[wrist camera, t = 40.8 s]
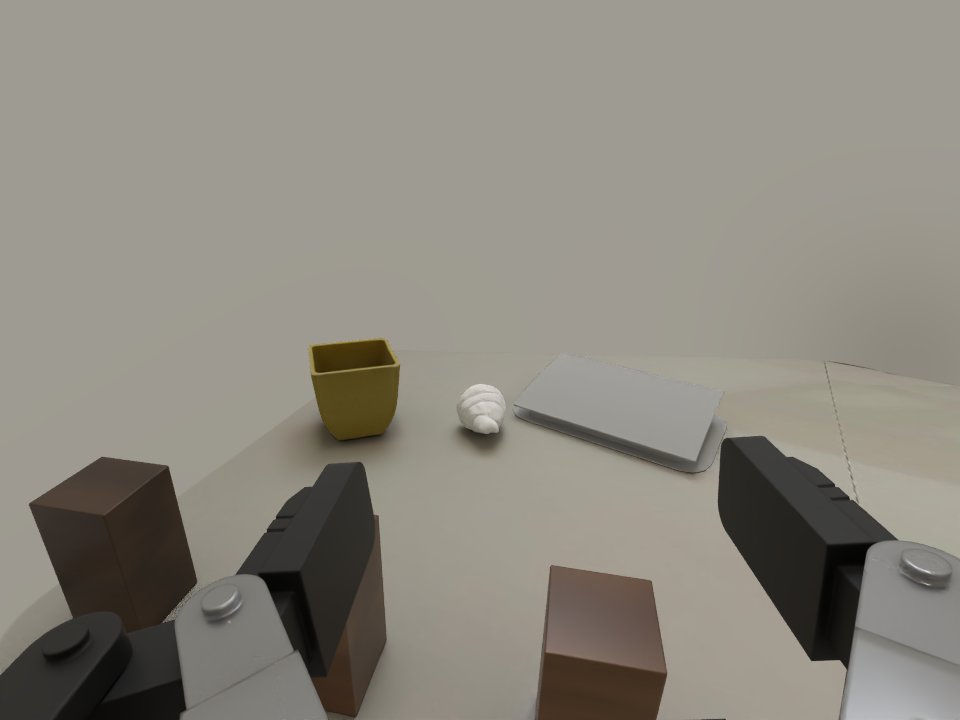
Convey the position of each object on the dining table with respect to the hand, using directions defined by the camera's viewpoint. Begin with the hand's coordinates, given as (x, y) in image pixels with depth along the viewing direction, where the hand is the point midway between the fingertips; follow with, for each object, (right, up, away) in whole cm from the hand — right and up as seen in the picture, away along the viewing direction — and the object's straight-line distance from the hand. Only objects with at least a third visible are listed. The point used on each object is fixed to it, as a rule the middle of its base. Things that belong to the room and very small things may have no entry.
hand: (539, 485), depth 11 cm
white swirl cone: (-1, -6, +45) cm, 45 cm away
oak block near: (-25, -14, +23) cm, 37 cm away
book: (+15, -4, +50) cm, 53 cm away
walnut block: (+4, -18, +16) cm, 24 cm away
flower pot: (-15, -5, +46) cm, 49 cm away
